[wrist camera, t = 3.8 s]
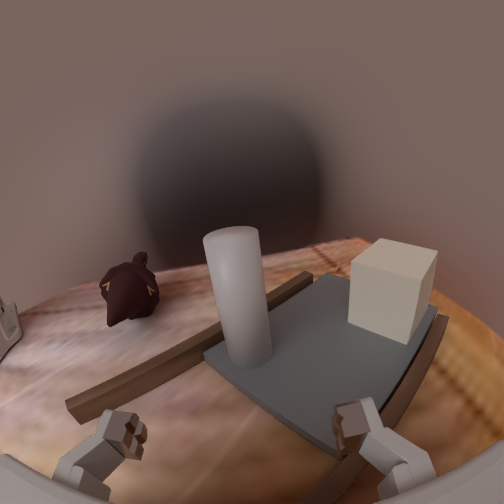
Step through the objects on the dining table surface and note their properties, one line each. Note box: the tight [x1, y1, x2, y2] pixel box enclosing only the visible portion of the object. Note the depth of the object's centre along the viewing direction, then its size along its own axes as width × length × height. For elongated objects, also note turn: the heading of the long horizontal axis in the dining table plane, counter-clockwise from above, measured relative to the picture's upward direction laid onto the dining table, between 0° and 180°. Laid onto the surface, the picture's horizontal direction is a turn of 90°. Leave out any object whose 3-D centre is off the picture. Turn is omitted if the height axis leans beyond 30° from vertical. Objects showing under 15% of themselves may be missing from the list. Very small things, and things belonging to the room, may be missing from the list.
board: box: [203, 226, 438, 460], centre depth 20 cm, size 14×18×11 cm
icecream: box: [99, 252, 160, 327], centre depth 29 cm, size 7×7×15 cm
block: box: [348, 238, 438, 345], centre depth 21 cm, size 6×6×6 cm
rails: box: [65, 271, 449, 504], centre depth 17 cm, size 17×28×2 cm, turn 132°
